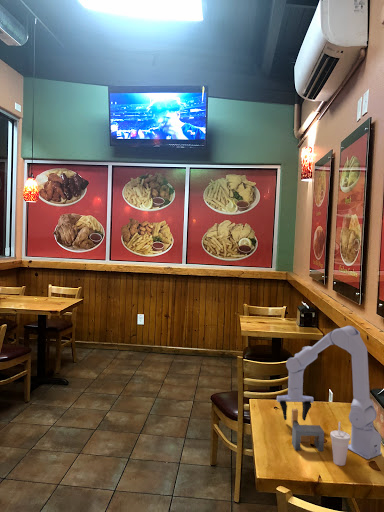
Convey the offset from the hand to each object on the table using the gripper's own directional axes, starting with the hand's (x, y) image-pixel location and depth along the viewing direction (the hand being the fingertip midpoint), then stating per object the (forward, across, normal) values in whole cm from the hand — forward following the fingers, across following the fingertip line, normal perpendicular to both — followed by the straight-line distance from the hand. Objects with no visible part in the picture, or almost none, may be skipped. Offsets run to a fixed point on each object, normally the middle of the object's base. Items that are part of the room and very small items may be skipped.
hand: (294, 419), depth 166 cm
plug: (+2, 0, +7) cm, 7 cm away
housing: (+2, 0, +19) cm, 19 cm away
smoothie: (+2, -8, +29) cm, 30 cm away
